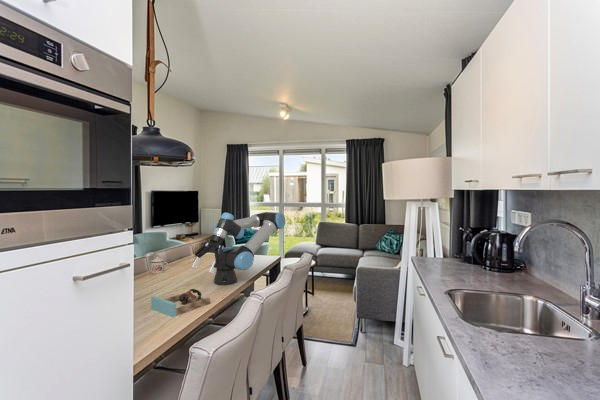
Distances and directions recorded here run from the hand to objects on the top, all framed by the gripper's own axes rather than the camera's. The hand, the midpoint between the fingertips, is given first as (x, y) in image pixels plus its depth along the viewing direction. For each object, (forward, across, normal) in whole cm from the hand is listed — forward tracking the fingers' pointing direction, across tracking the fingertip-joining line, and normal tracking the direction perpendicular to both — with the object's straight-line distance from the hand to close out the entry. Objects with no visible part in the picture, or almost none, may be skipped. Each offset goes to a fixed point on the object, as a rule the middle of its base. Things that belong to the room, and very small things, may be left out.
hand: (202, 270), depth 172 cm
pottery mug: (+18, +1, +1) cm, 18 cm away
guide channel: (+20, +1, -3) cm, 21 cm away
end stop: (+26, 0, -12) cm, 29 cm away
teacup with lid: (+3, -70, +33) cm, 78 cm away
